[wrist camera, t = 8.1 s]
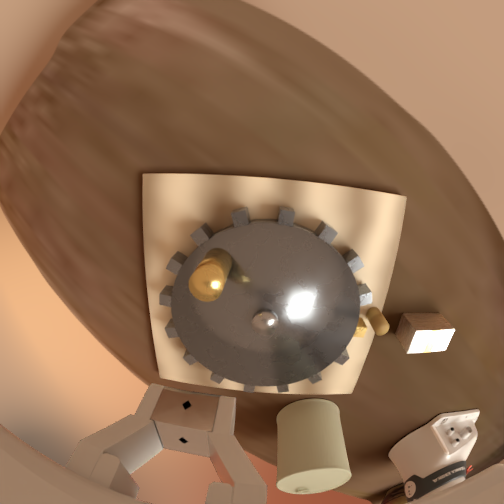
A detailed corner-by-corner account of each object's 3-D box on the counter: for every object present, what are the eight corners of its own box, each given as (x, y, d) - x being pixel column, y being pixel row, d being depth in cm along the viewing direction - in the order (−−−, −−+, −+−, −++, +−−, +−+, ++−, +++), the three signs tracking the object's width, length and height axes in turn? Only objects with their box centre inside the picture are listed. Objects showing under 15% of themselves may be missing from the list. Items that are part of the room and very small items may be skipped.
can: (267, 428, 35) (264, 494, 24) (291, 392, 32) (295, 469, 21) (320, 436, 35) (327, 497, 24) (350, 402, 32) (367, 471, 21)
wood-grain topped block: (439, 312, 27) (455, 329, 24) (431, 332, 28) (445, 350, 24) (402, 312, 28) (416, 331, 24) (394, 333, 28) (407, 353, 25)
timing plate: (402, 195, 23) (421, 201, 20) (350, 388, 31) (356, 409, 28) (147, 173, 24) (127, 175, 21) (162, 372, 32) (152, 393, 29)
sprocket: (295, 159, 22) (305, 156, 15) (392, 325, 27) (417, 364, 20) (130, 281, 27) (96, 314, 20) (244, 401, 31) (239, 444, 25)
